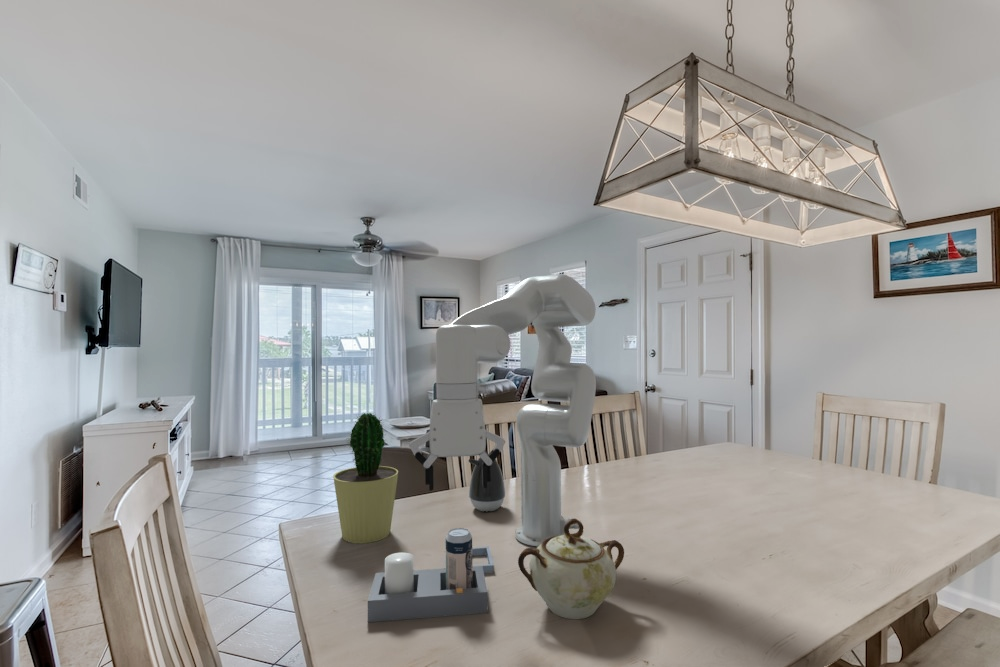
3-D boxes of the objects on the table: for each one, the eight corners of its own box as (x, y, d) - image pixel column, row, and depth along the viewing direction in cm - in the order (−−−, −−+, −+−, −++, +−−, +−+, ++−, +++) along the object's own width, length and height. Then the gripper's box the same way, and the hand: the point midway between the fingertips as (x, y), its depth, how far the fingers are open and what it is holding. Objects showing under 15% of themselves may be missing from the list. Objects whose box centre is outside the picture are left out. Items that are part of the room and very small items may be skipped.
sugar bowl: (605, 579, 94) (604, 501, 94) (646, 621, 79) (644, 529, 80) (507, 592, 89) (506, 510, 90) (531, 640, 75) (530, 542, 75)
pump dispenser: (464, 505, 139) (463, 452, 139) (498, 501, 142) (497, 449, 143) (474, 517, 129) (473, 459, 130) (510, 512, 133) (510, 456, 133)
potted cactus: (330, 528, 122) (330, 409, 123) (391, 519, 128) (391, 405, 129) (336, 552, 108) (336, 417, 109) (404, 540, 114) (404, 412, 115)
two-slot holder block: (482, 584, 92) (482, 542, 93) (487, 612, 83) (487, 565, 83) (375, 591, 90) (375, 548, 90) (367, 622, 80) (367, 573, 80)
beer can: (475, 603, 86) (475, 535, 86) (449, 608, 84) (449, 538, 84) (468, 590, 90) (468, 525, 91) (443, 595, 89) (443, 529, 89)
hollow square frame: (488, 553, 106) (488, 546, 106) (493, 572, 97) (493, 565, 97) (446, 556, 105) (446, 549, 105) (447, 575, 96) (447, 568, 96)
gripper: (501, 389, 93) (502, 479, 92) (410, 391, 91) (411, 483, 90) (507, 393, 85) (508, 491, 85) (407, 396, 83) (408, 496, 83)
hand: (458, 487), depth 88 cm, fingers open, 9 cm apart
